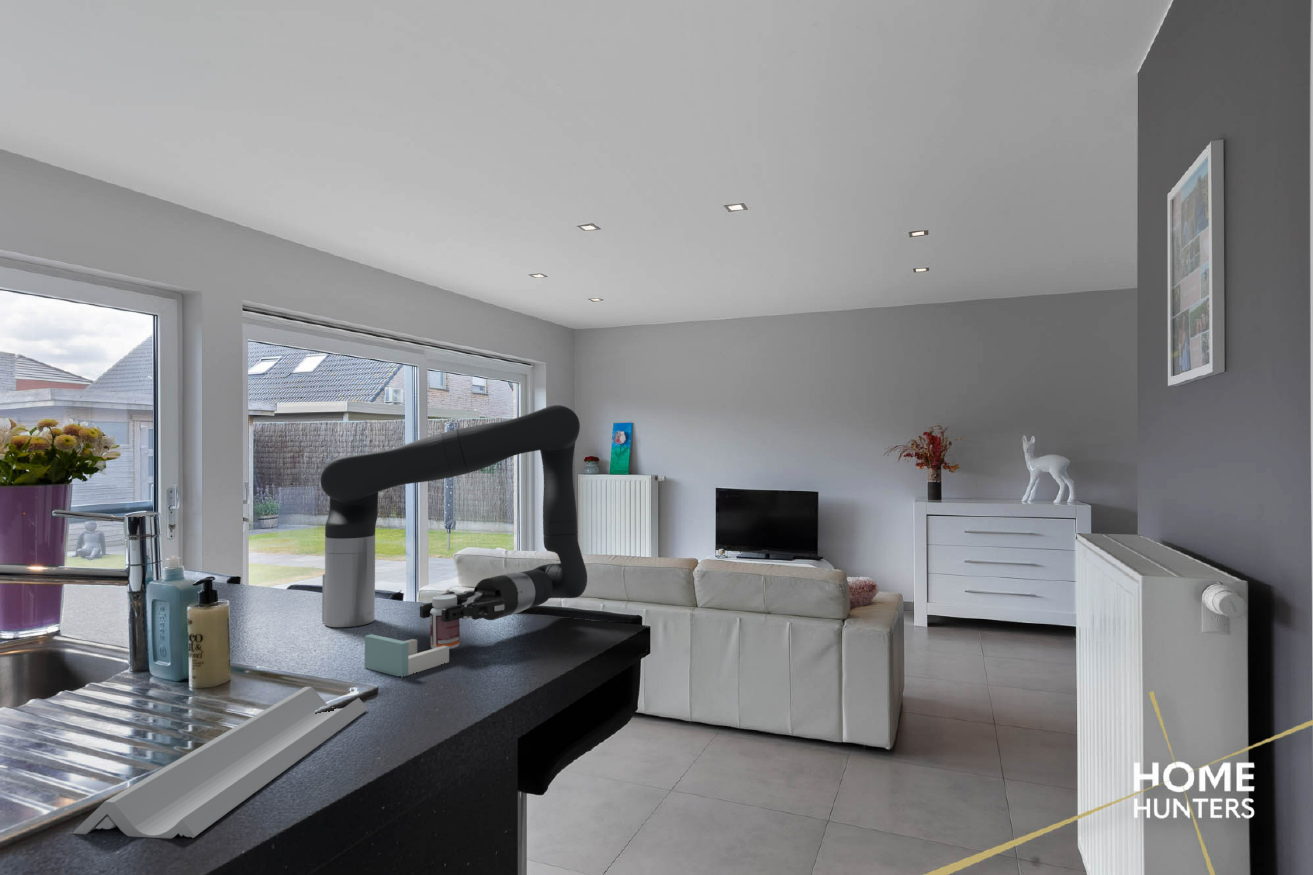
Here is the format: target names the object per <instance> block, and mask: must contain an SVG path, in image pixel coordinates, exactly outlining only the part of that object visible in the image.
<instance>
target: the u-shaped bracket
mask: <svg viewBox="0 0 1313 875" xmlns="http://www.w3.org/2000/svg"><path fill="white" fill-rule="evenodd" d="M444 663H445V664H447V663H450V649H449V646H441V647H437V648H434V649H432V648H430V649H428V650H424V651H420V652H418V639H415V638H411V639H407V640H400V639H396V638H395V639H394V638H391V637H386V636H381V635H377V634H376V635H375V634H366V635H364V669H367V668H368V670H372V671H376V672H381V673H384V674H388V675H391V676H395V677H399V676H401V677H400V678H404V677H406V676H410V675H414V674H416V672H417V673H419V672H424V671H425V670H429V669H432V668H435V667H438V666H441V664H442V665H444ZM413 673H414V674H413ZM403 676H404V677H403Z"/></svg>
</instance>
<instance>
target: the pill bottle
mask: <svg viewBox="0 0 1313 875" xmlns="http://www.w3.org/2000/svg"><path fill="white" fill-rule="evenodd" d="M431 599H432V601H431V602H432V606H433V607H434V608H432V609H431V611H430V617H429V622H430V623H429V624H430V625H429V628H430V630H429V631H430V633H429V634H430V635H429V636H430V637H429V638H430V640H429V641H430V649H434V648H437V647H441V646H449V650H451V649H455V648H457V647H459V646H460V643H461V642H460V638H461V637H460V633H461V632H460V625H461V624H460V619H457V620H453V621H450V622H443V621H442V609H443V608H447V607H451V606H455V605H457V596H456V595H442V594H438V595H436V596H435V595H434V596H433V597H432V598H431Z"/></svg>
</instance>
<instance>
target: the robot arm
mask: <svg viewBox="0 0 1313 875" xmlns="http://www.w3.org/2000/svg"><path fill="white" fill-rule="evenodd" d="M580 428H581V424H580V420H579V417H578V416H577V414H576V412H574V410H572V409H571V408H569V407H567V406H563V405H558V404H557V405H549V406H547V407H543V408H542V409H539V410H536V411H533V412H530V413H527V414H523V415H521V416H517V417H516V418H512V419H508V420H503V421H496V422H489V423H484V424H479V425H473V426H467V427H462V428H458V429H453V430H449V431H445V432H440V433H438V434H434V435H430V436H427V437H424V438H421V439H417V440H415V441H412V442H408V443H407V444H403V445H401V446H398V447H395V448H391V449H387V450H383V451H377V452H376V451H375V452H370V453H363V454H362V453H361V454H353V455H352V454H351V455H350V454H349V455H343V456H338V457H336V458H335V459H333V460H331V461H330V462H329V463H328V464H327V465H326V466H325V467H324V469H323V471H322V472H321V476H320V486H321V488H322V491H323V493H325V494H326V495H327V496H328V497H329V509H328V510H329V511H328V512H329V513H328V516H327V519H326V522H325V524H324V525H325V527H324V530H325V531H324V536H325V537H324V573H323V575H322V584H321V588H322V594H321V595H322V600H321V602H322V604H321V606H322V607H321V608H322V610H321V617H322V618H321V621H322V623H324V626H326V627H332V628H351V627H357V626H358V627H360V626H364V625H367V624H368V625H369V624H371V623H373V622H374V621H375V616H376V614H375V613H376V612H375V609H376V608H375V607H376V606H375V604H376V602H375V601H376V596H375V595H376V524H377V519H378V510H379V509H378V508H379V506H378V505H379V492H382V491H385V490H387V489H391V488H395V487H399V486H402V485H403V486H404V485H409V484H417V483H425V482H432V481H438V480H445V479H448V478H449V479H450V478H454V477H459V476H462V475H467V474H471V473H473V472H477V471H480V470H483V469H485V468H488V467H490V466H494V465H496V464H497V463H501V462H502V461H505V460H506V459H509V458H511V457H514V456H517V455H521V454H525V453H531V452H537V451H540V456H541V462H542V473H543V474H542V475H543V497H542V498H543V499H542V534H543V536H542V537H543V546H544V549H546V551H548V552H552V553H555V554H556V555H557V556H558V559H559V562H560V563H547V564H543V565H540V566H537V567H535V568H533V569H531V570H530V569H529V570H525V571H519V572H511V573H506V574H501V575H496V576H491V577H487V578H483V579H481V580H480V581H479V582H478V583H477V584H476V586H474V589H473V590H472V589H469V590H464V591H463V592H458V593H457V592H455V591H452V590H451V591H448V592H446V593H442V594H441V595H456V596H457V605H455V606H451V607H447V608H443V609H442V621H443V622H450V621H453V620H457V619H459V620H460V619H462V620H468V619H472V620H474V621H476V620H477V621H478V620H480V619H484V620H486V621H495V620H498V619H501V618H504V617H509V616H512V615H516V614H518V613H521V612H523V611H524V610H528V609H531V608H534V607H537V606H541V605H543V604H545V603H546V602H547V601H549V599H577V598H579V597H581V596H582V595H583V593H584V592H585V591H586V588H587V584H588V571H587V568H586V565H585V561H584V558H583V554H582V551H581V548H580V545H579V541H578V516H577V514H578V513H577V505H576V504H577V503H576V502H577V501H576V496H575V488H574V474H573V473H574V471H573V468H574V466H573V464H574V463H573V461H574V456H575V448H576V441H577V439H578V437H579V433H580ZM432 608H434V607H433V606H432V601H431V602H427V603H423V604H421V605H420V606H419V617H420V618H422V619H427V618H430V611H431V609H432Z"/></svg>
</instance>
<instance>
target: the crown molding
mask: <svg viewBox="0 0 1313 875" xmlns="http://www.w3.org/2000/svg"><path fill="white" fill-rule="evenodd" d="M327 705H329V704H328V703H326V701H325V700H324V699H323V698H322V697H321V696H320V694H319V693H318V692H317V691H316V690H315V688H314V687H313V686H304V687H302V688H300V689H298V690H297V691H296V692H294V693H292V694H290V695H288V696H286V697H285V698H282V700H279V701H277V702H276V703H275V704H272V705H271V706H270V707H268V708H266V709H264V710H262V711H261V712H259V713H257V714H255V715H253V716H251V717H250V718H248V719H247V720H245V721H243V722H241V723H240V724H237V725H236V726H234V727H233V728H231V729H229V730H226V731H225V732H224V733H222V734H221V735H220V734H219V736H217V737H215V738H212V740H209V741H208V742H206V743H204V744H202V745H201V746H200V747H198V748H196V749H194V750H192V751H191V752H188V753H187V754H185V755H183V756H182V757H180V758H178V759H176V760H175V761H173V762H171V763H169V764H168V765H166V766H165V767H163V768H161V769H159V770H157V771H156V772H154V773H152V774H150V775H149V776H146V777H145V778H142V780H139V781H138V782H137V783H133V785H130V786H129V787H128V788H126V789H124V790H122V791H120V792H118V793H117V794H115V795H114V796H112V797H110V798H109V799H107V800H104V802H102V803H101V805H99V806H98V807H97V808H96V809H95V810H94V811H93V812H92V813H91V814H90V815H89V816H88V817H87V818H86V819H85V820H84V821H83V822H81V824H80V825H79V826H78V827H77V828H76V829H74V831H73V832H72V835H73V834H77V835H78V834H79V835H87V834H89V833H90V832H92V831H94V830H96V829H97V830H101V829H103V830H110V829H114V828H116V827H117V828H118V829H119V830H120V831H121V832H122V833H123V834H124V835H126V836H127V837H135V838H153V839H154V838H157V839H173V838H174V837H176V836H178V835H179V836H180V837H183V836H184V837H187V838H192V839H194V838H196V837H197V836H199V834H201V833H202V832H203V831H205V830H207V829H208V828H209V827H210V826H212V825H213V824H215V823H216V822H217V821H219V820H220V819H221V818H223V817H224V816H226V814H228V813H230V812H231V811H232V810H234V809H235V808H236V807H238V806H239V805H240V804H242V803H243V802H245V800H247V799H249V797H251V796H252V795H253V794H255V793H257V792H258V791H260V790H261V789H262V788H264V787H265V786H266V785H267V784H269V783H270V782H272V780H274V779H276V778H277V777H278V776H280V775H281V774H283V773H284V772H285V771H286V770H288V769H289V768H290V767H291V766H293V765H295V764H296V763H297V762H298V761H300V760H302V759H303V758H304V757H306V756H307V755H308V754H309V753H311V752H312V751H314V749H316V748H317V747H319V746H320V745H322V744H323V743H324V742H326V741H327V740H328V739H330V738H331V737H332V736H334V735H335V734H337V733H338V732H339V731H340V730H342V729H343V728H345V727H346V726H347V725H349V724H350V723H351V722H353V721H354V720H355V719H357V718H359V717H360V715H362V714H363V713H365V712H366V711H367V710H368V709H369V707H368V706H367V705H366V704H365V702H363V701H362V700H361V699H360V697H358V698H355V699H354V700H353V701H351V702H350V703H348V704H347V705H346V706H344V707H342V708H336V709H334V711H330V712H328V711H327V712H321V713H317V714H315V710H318V709H319V708H320V707H322V706H327Z"/></svg>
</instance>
